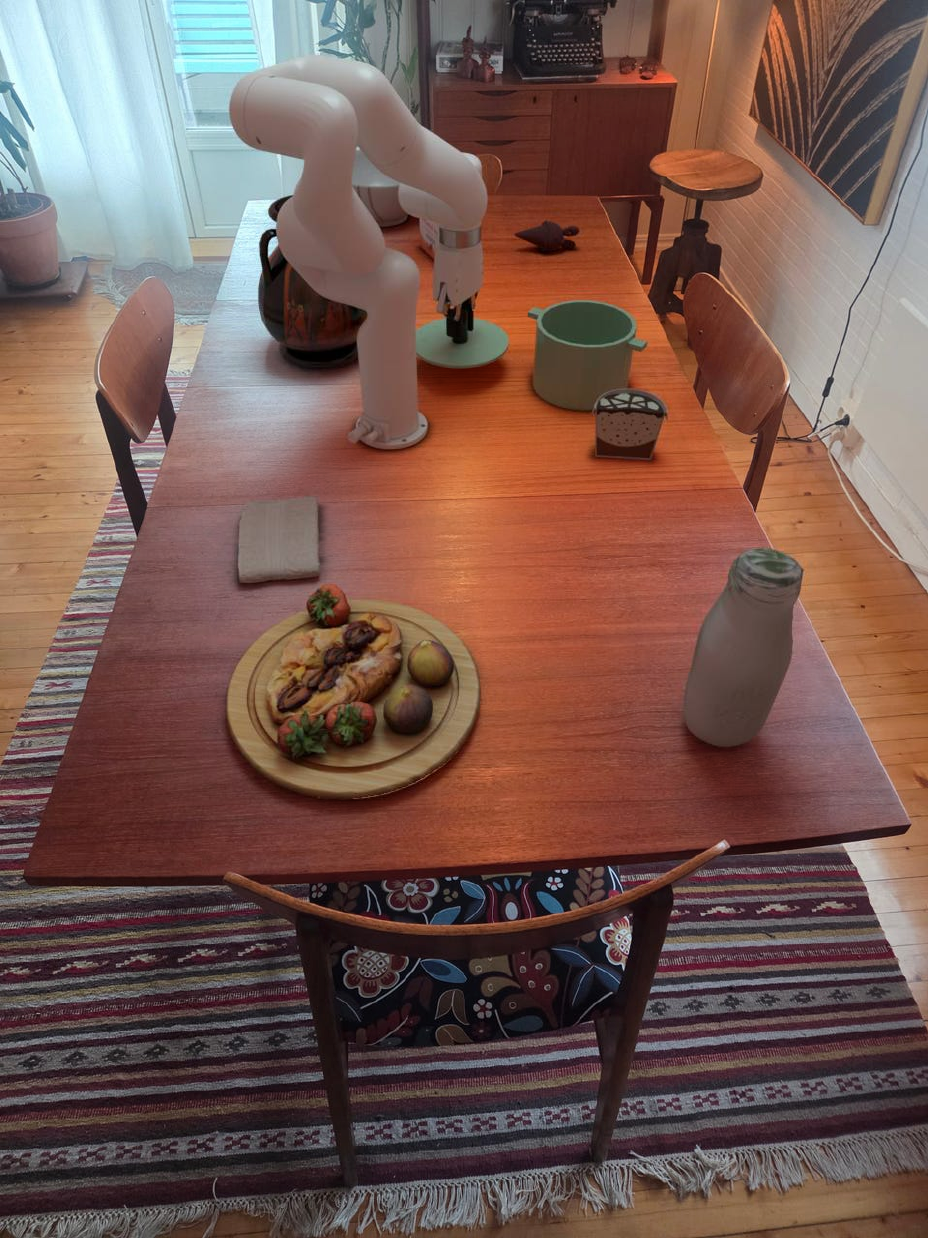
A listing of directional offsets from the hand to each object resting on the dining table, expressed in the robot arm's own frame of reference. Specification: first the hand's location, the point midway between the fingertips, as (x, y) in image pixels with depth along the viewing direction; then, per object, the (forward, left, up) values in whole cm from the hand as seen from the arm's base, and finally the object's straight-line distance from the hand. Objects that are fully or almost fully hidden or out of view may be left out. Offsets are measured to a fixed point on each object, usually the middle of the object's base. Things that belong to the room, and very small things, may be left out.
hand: (460, 332), depth 164 cm
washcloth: (-58, -7, -8) cm, 59 cm away
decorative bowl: (+51, +58, -8) cm, 77 cm away
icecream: (+57, +14, -8) cm, 59 cm away
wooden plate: (-75, -35, -8) cm, 83 cm away
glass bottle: (-54, -75, -8) cm, 93 cm away
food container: (-6, -38, -8) cm, 39 cm away
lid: (0, 0, -2) cm, 2 cm away
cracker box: (+40, +32, -8) cm, 52 cm away
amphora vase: (-10, +26, -8) cm, 29 cm away
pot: (+8, -22, -8) cm, 24 cm away
